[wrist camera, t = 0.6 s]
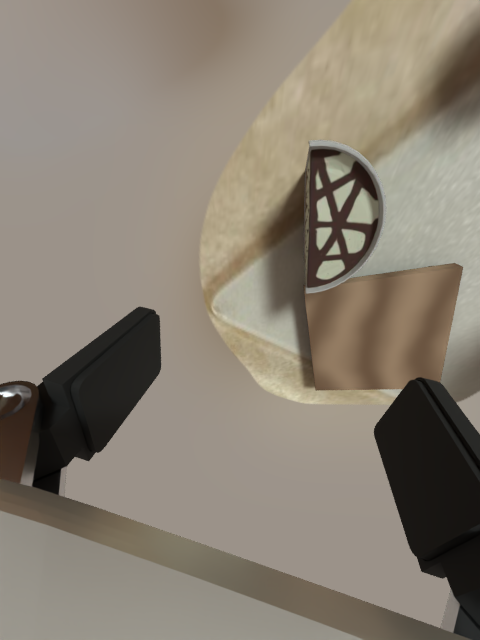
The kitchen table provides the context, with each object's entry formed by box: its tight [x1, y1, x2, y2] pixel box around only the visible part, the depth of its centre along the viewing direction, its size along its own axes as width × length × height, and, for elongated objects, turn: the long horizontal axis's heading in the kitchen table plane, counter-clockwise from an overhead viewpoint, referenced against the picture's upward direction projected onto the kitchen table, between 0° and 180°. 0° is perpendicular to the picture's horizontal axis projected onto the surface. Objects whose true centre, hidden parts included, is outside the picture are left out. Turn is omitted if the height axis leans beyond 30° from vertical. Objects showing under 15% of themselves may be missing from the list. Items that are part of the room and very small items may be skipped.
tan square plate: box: [304, 263, 463, 390], centre depth 31 cm, size 16×17×3 cm
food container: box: [303, 140, 386, 294], centre depth 22 cm, size 12×6×10 cm, turn 7°
